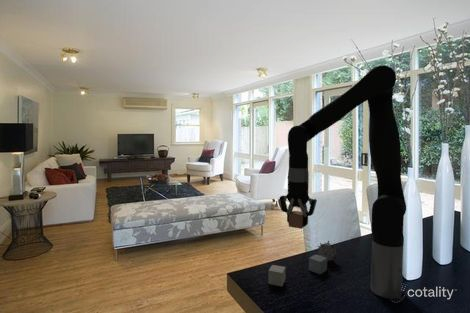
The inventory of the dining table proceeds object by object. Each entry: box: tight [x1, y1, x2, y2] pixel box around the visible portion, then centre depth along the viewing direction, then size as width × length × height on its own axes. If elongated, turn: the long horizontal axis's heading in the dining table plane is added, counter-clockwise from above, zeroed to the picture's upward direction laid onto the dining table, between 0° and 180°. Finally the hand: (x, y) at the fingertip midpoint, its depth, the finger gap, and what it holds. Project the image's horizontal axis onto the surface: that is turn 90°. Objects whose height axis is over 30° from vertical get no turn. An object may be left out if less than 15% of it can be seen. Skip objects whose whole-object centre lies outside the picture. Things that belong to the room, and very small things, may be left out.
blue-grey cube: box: [308, 253, 328, 275], centre depth 115 cm, size 5×5×5 cm
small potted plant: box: [315, 240, 339, 263], centre depth 123 cm, size 9×8×10 cm
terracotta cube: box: [288, 209, 305, 230], centre depth 109 cm, size 5×5×5 cm
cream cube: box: [267, 264, 287, 287], centre depth 105 cm, size 5×5×5 cm
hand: (297, 224), depth 110 cm, fingers closed on terracotta cube, 5 cm apart
